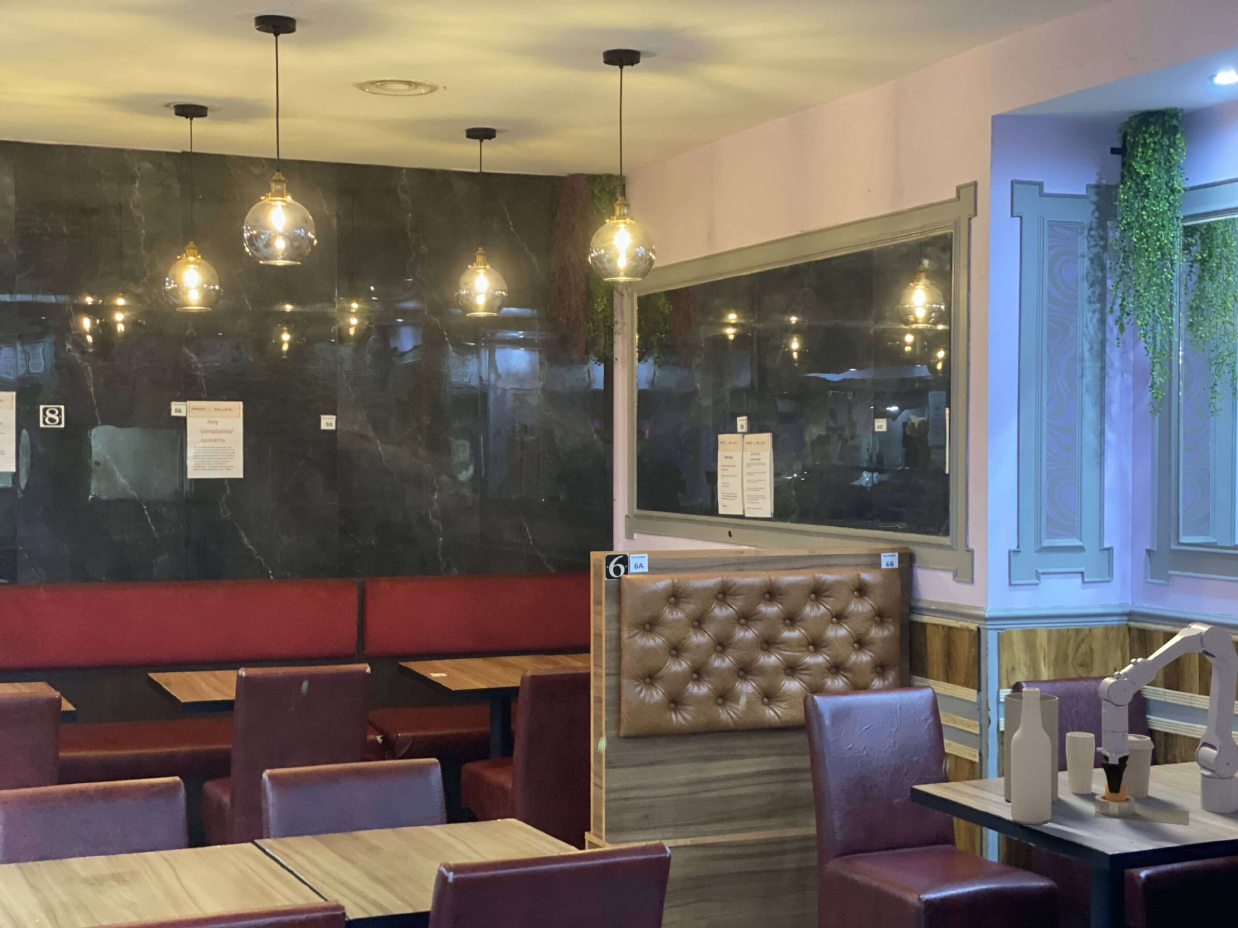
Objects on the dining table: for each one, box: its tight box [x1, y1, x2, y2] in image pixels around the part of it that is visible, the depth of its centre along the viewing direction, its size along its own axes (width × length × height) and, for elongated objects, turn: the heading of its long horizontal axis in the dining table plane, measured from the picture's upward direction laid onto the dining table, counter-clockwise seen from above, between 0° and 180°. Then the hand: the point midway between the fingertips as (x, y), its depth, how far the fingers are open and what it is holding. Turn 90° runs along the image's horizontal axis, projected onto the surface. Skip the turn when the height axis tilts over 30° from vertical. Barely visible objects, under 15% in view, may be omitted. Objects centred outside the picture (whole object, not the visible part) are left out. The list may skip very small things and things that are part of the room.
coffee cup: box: [1121, 733, 1155, 799], centre depth 348 cm, size 10×10×15 cm
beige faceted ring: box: [1094, 793, 1136, 816], centre depth 331 cm, size 9×9×3 cm
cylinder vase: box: [1003, 692, 1059, 803], centre depth 346 cm, size 12×12×25 cm
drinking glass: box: [1065, 731, 1096, 795], centre depth 351 cm, size 7×7×15 cm
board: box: [1093, 805, 1190, 826], centre depth 329 cm, size 20×14×1 cm
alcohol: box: [1010, 687, 1052, 826], centre depth 327 cm, size 9×9×30 cm
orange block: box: [1104, 782, 1127, 802], centre depth 331 cm, size 5×5×6 cm
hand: (1115, 789), depth 331 cm, fingers open, 7 cm apart
